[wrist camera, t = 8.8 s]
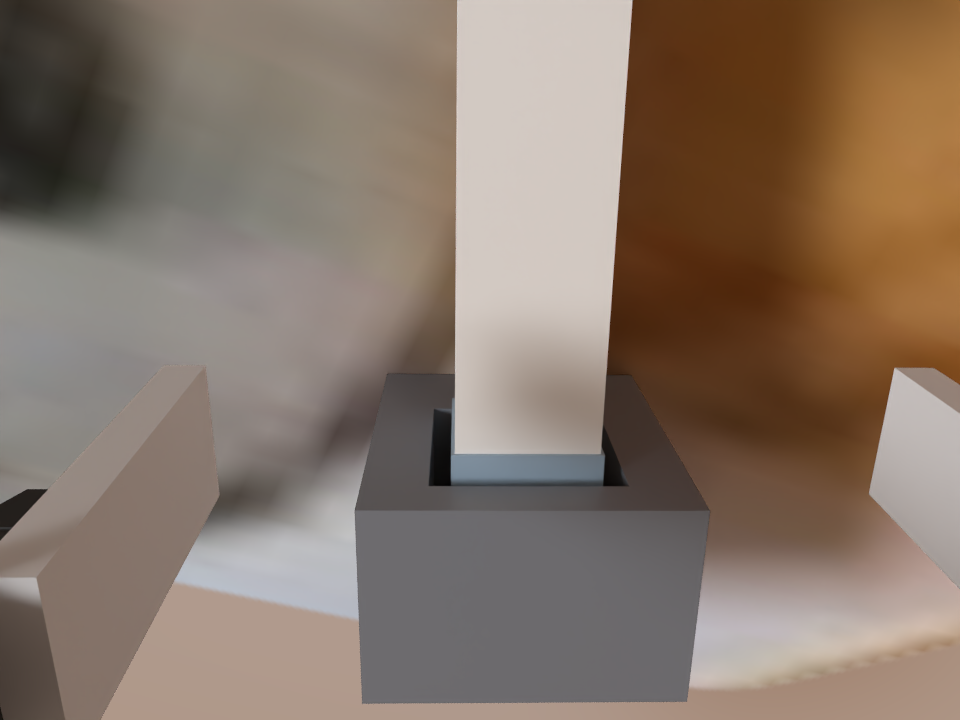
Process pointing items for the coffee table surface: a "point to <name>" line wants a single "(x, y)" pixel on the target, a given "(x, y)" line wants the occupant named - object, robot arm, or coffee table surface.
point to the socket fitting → (525, 565)
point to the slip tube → (535, 236)
